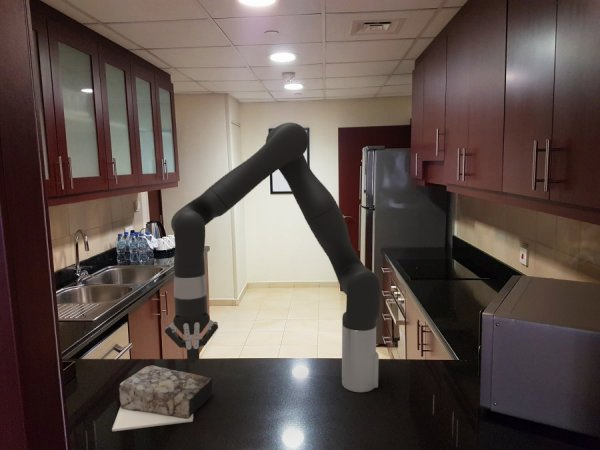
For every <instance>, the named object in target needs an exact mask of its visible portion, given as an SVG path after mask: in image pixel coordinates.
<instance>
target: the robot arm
mask: <svg viewBox="0 0 600 450" xmlns="http://www.w3.org/2000/svg"><path fill="white" fill-rule="evenodd" d="M308 145H309V135H308V132H307V131H306V129H305V128H304V127H303V126H302V125H301V124H298V123H296V122H284V123H282V124H279V125H277V126H276V127H274V128H272V129H271V130H270V131H269V133H268V134H267V136H266V139H265V143H264V144H263V146H262V147H261V148H259V149H258V151H256V152H255V153H253V155H251V156H250V157H249V158H247V159H246V160H244V161H243V162H242V163H240V164H239V165H238V166H236V167H235V168H233V169H232V170H229V172H228V173H226V174H225V175H224V176H222V177H221V178H219V179H218V180H217V181H216V182H215V183H213V184H211V185H210V186H209V187H208V188H207V189H205V190H204V191H203V193H202V194H200V195H199V196H197V197H196V198H194V199H192V200H190V202H188V203H187V204H185V205H184V206H182V207H181V208H179V210H177V211H176V212H175V213H174V214H173V216H172V218H171V221H170V222H171V223H170V225H171V229H172V231H173V234H174V235H173V236H174V248H175V249H174V251H175V254H174V255H173V271H174V274H173V275H174V281H173V296H174V297H173V298H174V317H173V321H172V323H170V324H169V325H166V326H165V329H164V333H165V334H166V335H167V337H169V338H170V339H171V340H172V341H173V343H174V344H175V345H177V347H179V349H181V348H184V349H185V350H186V359H187V360H186V361H187V362H189V363H190V364H192V365H193V364H197V362H198V361H199V360H200V347H202V346H203V347H204V346H206V345H207V344H208V342H209V341H210V339H211V338H212V337H213V336H214V334H215V333H216V331H217V330H218V329H219V323H218V322H217V321H213V320H212V319H211V318H210V315H209V313H208V292H207V291H208V289H207V279H206V268H205V267H206V266H205V255H204V252H205V244H206V225H208V224H209V223H211V221H213V220H214V219H215V218H218V217H219V218H220V217H221V216H223V215H224V214H226V213H227V212H229V211H230V210H231V209H232V208H233V207H235V206H236V205H237V204H238V203H239V202H240V201H241V200H243V199H244V198H245V197H246V196H247V195H248V194H249V193H251V191H253V190H254V189H256V187H257V186H259V185H260V184H261V183H262V182H263V181H264V180H265V179H267V178H268V177H269V176H271V175H272V174H274V173H275V172H276V171H278V170H279V172H280V173H281V175H282V177H283V178H284V180H285V181H286V183H287V185H288V187H289V188H290V191H291V193H292V195H293V197H294V199H295V201H296V204H297V206H298V207H299V209H300V211H301V214H302V216H303V217H304V220H305V222H306V224H307V225H308V227H309V229H310V231H311V233H312V234H313V236H314V237H315V239H316V241H317V242H318V244H319V246H320V247H321V248H322V250H323V251H324V253H325V254H326V256H327V258H328V260H329V261H330V264H331V266H332V269H333V271H334V273H335V276H336V278H337V281H338V284H339V286H340V289H341V290H342V291H343V293H344V294H345V295H346V302H345V305H346V306H345V312H344V313H342V317H341V319H342V320H341V322H342V323H341V324H342V325H341V326H342V327H341V328H342V329H341V331H342V333H341V342H342V343H341V384H342V387H344V389H346V390H348V391H351V392H355V393H366V392H370V391H373V390H374V389H375V388H376V389H377V388H378V387H379V358H380V357H379V356H380V355H379V353H378V352H377V322H378V321H377V320H378V319H379V316H380V307H381V282H380V279H379V277H378V276H377V275H376V273H375V272H373V271H372V270H370V269H369V268H368V267H366V266H365V265H364V263H363V262H362V260H361V259H360V258H359V255H358V254H357V252H356V251H355V249H354V247H353V245H352V243H351V239H350V235H349V229H348V226H347V223H346V222H347V221H346V220H345V217H344V215H343V213H342V211H341V208H340V207H339V204H338V203H337V201H336V200H335V198H334V196H333V195H332V193H331V192H330V190H329V189H328V188H327V187H326V186H325V185H324V184H323V183H322V182H321V181H320V180H319V178H318V177H317V176H316V175H315V174H314V173H313V171H312V169H311V167H310V166H309V164H308V162H307V160H306V156H305V155H304V154H305V152H306V151H307V149H308ZM206 326H207V330H206V331H205V333H204V335H203V336H202V337H201V338H200V334H201V333H202V332H203V331H204V329H206ZM177 329H178V332H180V333H181V334H182V335H184V338H183V337H182V336H181V335H180V334H178V332H177ZM192 335H193V340H192ZM192 342H193V343H192Z"/></svg>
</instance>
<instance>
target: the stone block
mask: <svg viewBox="0 0 600 450" xmlns="http://www.w3.org/2000/svg"><path fill="white" fill-rule="evenodd" d="M214 382H215V380H214V378H211V377H207V376H204V375H199V374H195V373H190V372H185V371H177V370H176V369H169V368H166V367H160V366H157V365H147V366H145V367H142V368H141V369H139V370H138V371H137V372H136V373H134V374H132V375H130V376H129V377H128V378H126V379H124V380H123V381H121V383H120V384H119V388H118V389H119V390H118V391H119V401H120V406H121V408H124V409H129V410H133V411H136V410H138V411H146V412H157V413H161V414H164V415H170V416H179V417H184V418H189V417H190V416H191V415H192V414H193V415H194V414H195V413H196V411H198V410H199V408H201V407H202V406H203V404H205V403H206V402H207V401H208V400H209V399H210V397H211V395H212V392H213V388H214Z"/></svg>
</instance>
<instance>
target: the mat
mask: <svg viewBox="0 0 600 450" xmlns="http://www.w3.org/2000/svg"><path fill="white" fill-rule="evenodd" d="M193 421H194V413H193V414H192V415H191V416H190V417H189V418H184V417H179V416H170V415H164V414H161V413H157V412H146V411H138V410H136V411H133V410H129V409H124V408H121V405H119V410H118V412H117V415H116V418H115V420H114V423H113V425H112V428H111V431H112V432H117V431H119V432H120V431H126V430H127V431H128V430H136V429H142V428H150V427H158V426H165V425H166V426H167V425H174V424H175V425H176V424H183V423H191V422H193Z"/></svg>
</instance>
